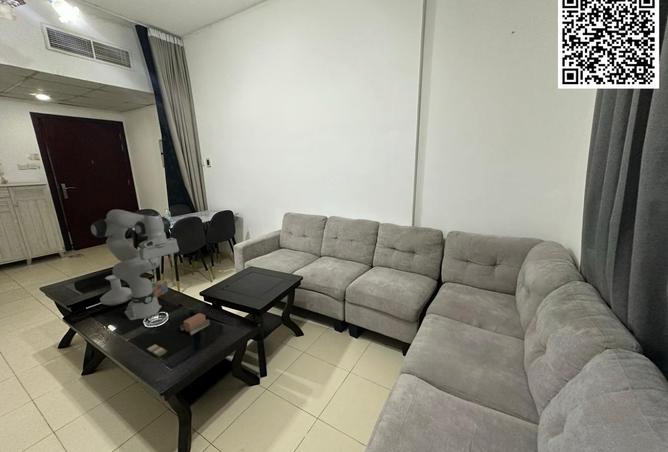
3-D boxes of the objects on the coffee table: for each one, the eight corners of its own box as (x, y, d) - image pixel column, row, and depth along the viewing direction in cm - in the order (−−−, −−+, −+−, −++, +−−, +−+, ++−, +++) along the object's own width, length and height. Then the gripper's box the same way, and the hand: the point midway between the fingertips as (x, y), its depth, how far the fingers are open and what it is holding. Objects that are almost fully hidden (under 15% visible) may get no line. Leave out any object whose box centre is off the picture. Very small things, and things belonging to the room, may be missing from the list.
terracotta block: (184, 330, 153) (183, 321, 152) (200, 321, 162) (199, 312, 161) (190, 332, 151) (189, 323, 150) (206, 324, 159) (205, 315, 158)
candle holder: (135, 292, 207) (130, 269, 203) (137, 301, 192) (132, 277, 187) (101, 300, 194) (96, 276, 190) (100, 311, 179) (94, 285, 175)
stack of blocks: (162, 290, 209) (159, 276, 206) (168, 291, 207) (166, 276, 205) (137, 304, 188) (134, 288, 186) (144, 304, 187) (141, 288, 184)
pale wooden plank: (147, 350, 139) (146, 343, 138) (202, 319, 166) (201, 314, 165) (159, 356, 134) (157, 349, 133) (213, 324, 161) (213, 318, 160)
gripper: (172, 236, 164) (177, 258, 165) (135, 244, 146) (140, 268, 148) (178, 236, 160) (182, 258, 162) (141, 244, 143) (146, 269, 145)
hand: (162, 263), depth 155 cm, fingers open, 8 cm apart
